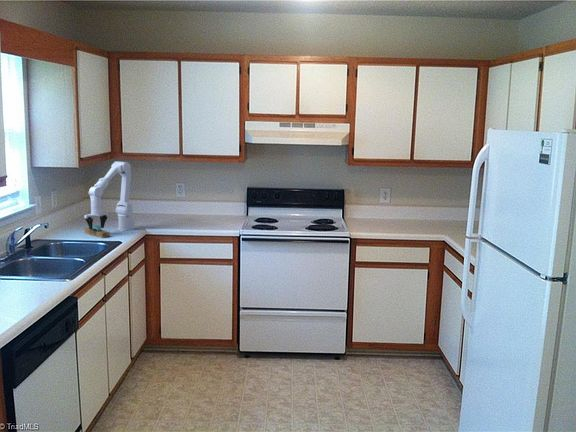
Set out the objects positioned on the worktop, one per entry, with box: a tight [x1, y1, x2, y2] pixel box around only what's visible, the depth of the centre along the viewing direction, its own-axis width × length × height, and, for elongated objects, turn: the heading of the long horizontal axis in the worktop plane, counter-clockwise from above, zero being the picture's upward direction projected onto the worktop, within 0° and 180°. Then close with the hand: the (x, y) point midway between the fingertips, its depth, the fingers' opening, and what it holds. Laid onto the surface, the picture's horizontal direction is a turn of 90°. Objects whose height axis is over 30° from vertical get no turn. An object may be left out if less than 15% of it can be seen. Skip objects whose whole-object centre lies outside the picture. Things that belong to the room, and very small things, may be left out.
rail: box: [83, 227, 111, 239], centre depth 318 cm, size 5×20×3 cm, turn 51°
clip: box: [92, 223, 102, 231], centre depth 318 cm, size 6×2×6 cm, turn 51°
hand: (96, 228), depth 318 cm, fingers open, 7 cm apart
